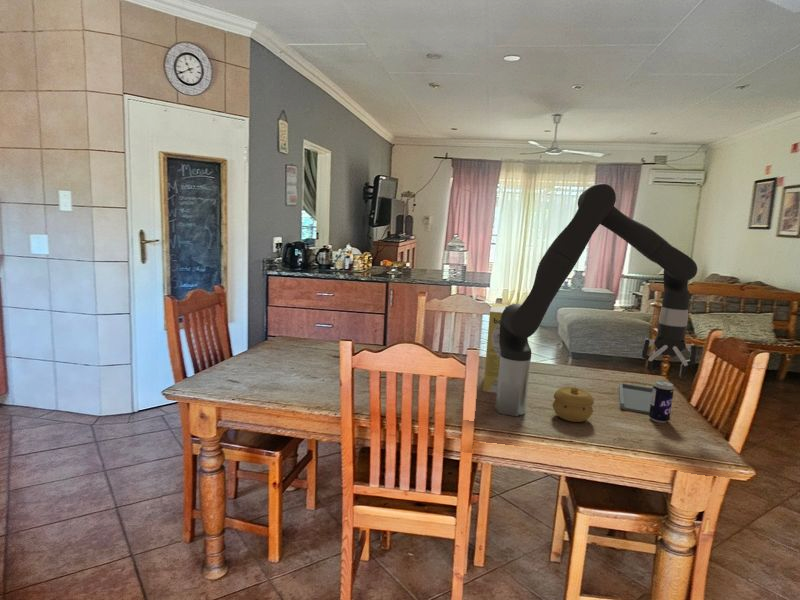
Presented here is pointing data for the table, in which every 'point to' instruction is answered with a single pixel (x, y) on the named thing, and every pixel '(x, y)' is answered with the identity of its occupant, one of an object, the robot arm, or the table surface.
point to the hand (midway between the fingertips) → (665, 374)
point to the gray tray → (635, 397)
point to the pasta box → (493, 348)
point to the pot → (573, 404)
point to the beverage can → (661, 401)
